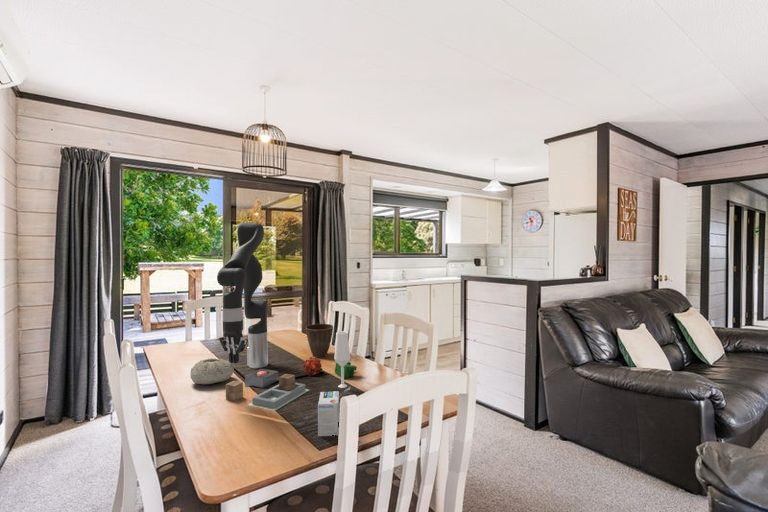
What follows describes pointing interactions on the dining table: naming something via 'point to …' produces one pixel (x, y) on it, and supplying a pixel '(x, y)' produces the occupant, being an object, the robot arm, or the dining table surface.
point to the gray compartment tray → (277, 397)
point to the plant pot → (319, 338)
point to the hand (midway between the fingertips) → (234, 362)
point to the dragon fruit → (312, 366)
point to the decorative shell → (211, 371)
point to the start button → (261, 373)
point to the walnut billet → (234, 390)
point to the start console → (261, 378)
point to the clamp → (345, 369)
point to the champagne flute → (342, 354)
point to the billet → (287, 382)
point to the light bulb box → (328, 413)
